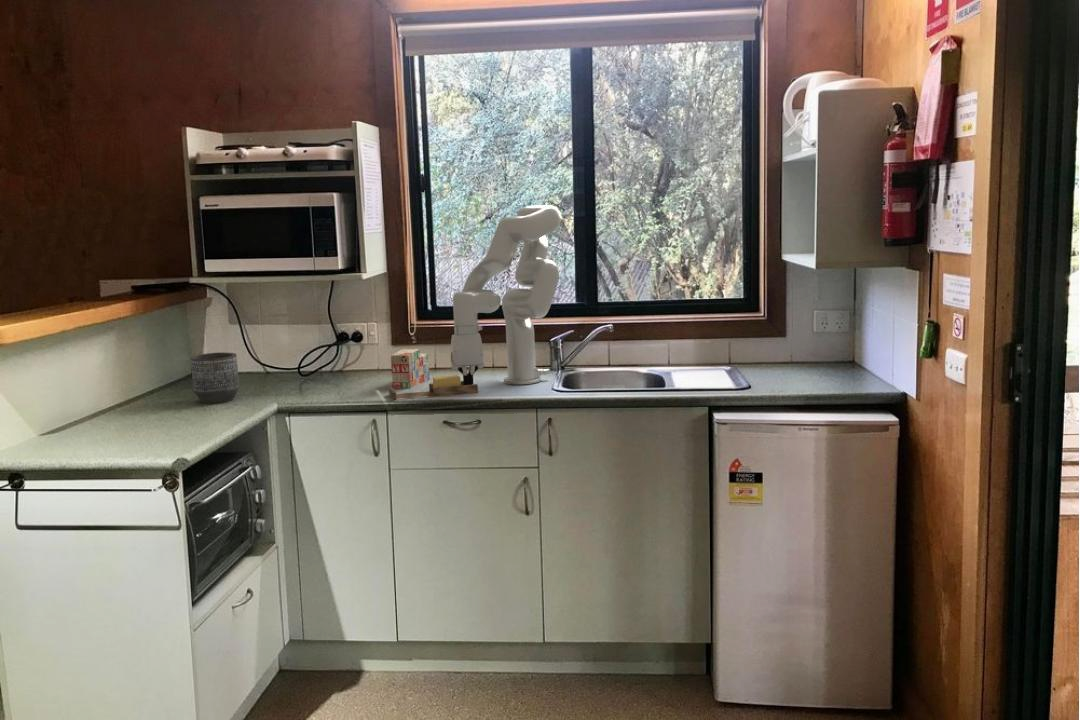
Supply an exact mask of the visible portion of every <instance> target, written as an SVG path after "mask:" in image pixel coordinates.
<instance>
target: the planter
mask: <svg viewBox="0 0 1080 720" xmlns="http://www.w3.org/2000/svg"><path fill="white" fill-rule="evenodd" d="M190 369H191V377H192V390H193V392H194V394H195V396H196V397H197V398H198V399H199V401H200V402H201V403H202V404H204V405H205V404H206V405H216V404H218V405H219V404H225V403H229V402H232V401H234V399H235V398H236V395H237V393H238V391H239V389H240V377H239V367H238V356H237V353H235V352H225V351H224V352H210V353H209V352H208V353H202V354H197V355H193V356H190Z"/></svg>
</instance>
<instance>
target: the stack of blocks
mask: <svg viewBox="0 0 1080 720" xmlns="http://www.w3.org/2000/svg"><path fill="white" fill-rule="evenodd" d="M390 363H391V377H392V388H393V389H412V388H413V387H415V386H417V385H418V384H421V385H422V384H423V383H425V382H426V381H429V380H430V366H429V365H430V364H429V353H421V352H420V349H419V348H411V349H410V348H407V349H406V348H403V349H400V350H398V351H396V352H395V353H393V354H391V355H390Z"/></svg>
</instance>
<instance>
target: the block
mask: <svg viewBox="0 0 1080 720" xmlns="http://www.w3.org/2000/svg"><path fill="white" fill-rule="evenodd" d="M461 381H462V380H461V377H460V375H458V374H452V375H450V374H449V375H439V376H432V383H433V390H434V388H440V387H451V386H461Z"/></svg>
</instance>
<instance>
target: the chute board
mask: <svg viewBox="0 0 1080 720" xmlns="http://www.w3.org/2000/svg"><path fill="white" fill-rule="evenodd" d="M478 385H479V384H475V383H473V384H472V385H464V384H463V380H461V386H451V387H440V388H434V390H433V382H431V383H428V390H427V391H424V390H422V391H413V392H402V393H400V392H399V393H397V392H396V391H395V388H393V386H391V387H390V386H389V387H388V396H389V397H390V398H391V399H392V401H403V400H412V399H423V398H425V399H427V398H434V397H435V398H436V397H443V396H457V395H468V394H469V395H470V394H477V393H479V387H478Z"/></svg>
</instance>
